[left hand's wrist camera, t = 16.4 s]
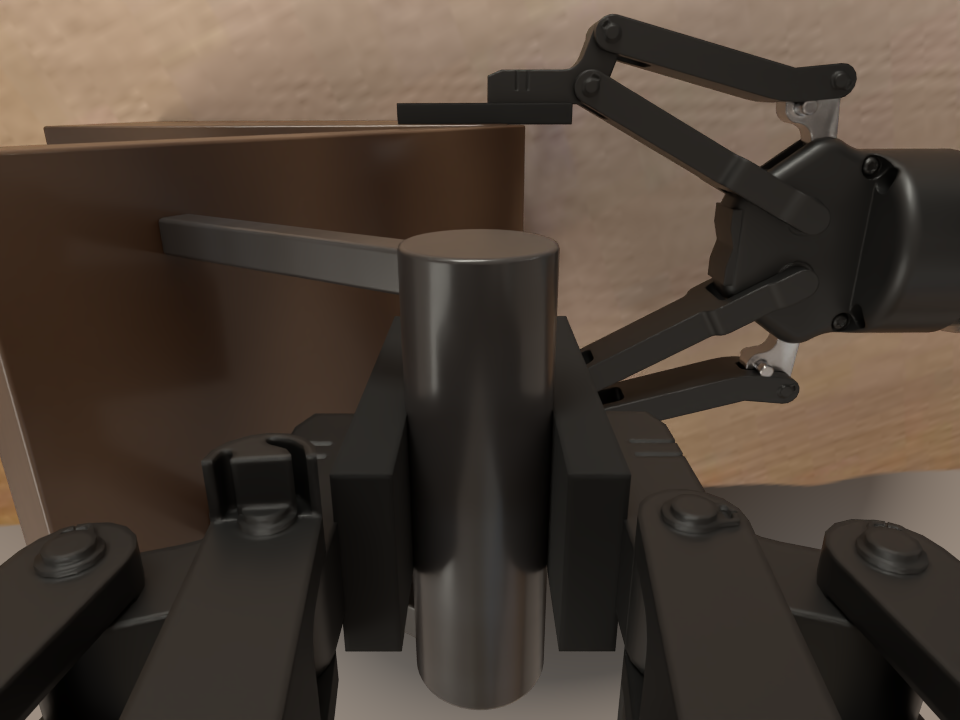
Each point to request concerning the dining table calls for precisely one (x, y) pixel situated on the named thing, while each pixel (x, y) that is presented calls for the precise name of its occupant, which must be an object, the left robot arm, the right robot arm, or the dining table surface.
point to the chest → (211, 129)
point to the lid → (292, 348)
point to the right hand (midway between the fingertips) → (407, 244)
